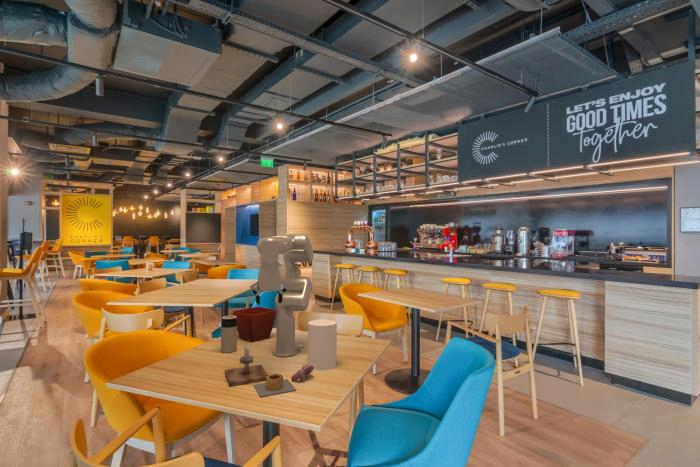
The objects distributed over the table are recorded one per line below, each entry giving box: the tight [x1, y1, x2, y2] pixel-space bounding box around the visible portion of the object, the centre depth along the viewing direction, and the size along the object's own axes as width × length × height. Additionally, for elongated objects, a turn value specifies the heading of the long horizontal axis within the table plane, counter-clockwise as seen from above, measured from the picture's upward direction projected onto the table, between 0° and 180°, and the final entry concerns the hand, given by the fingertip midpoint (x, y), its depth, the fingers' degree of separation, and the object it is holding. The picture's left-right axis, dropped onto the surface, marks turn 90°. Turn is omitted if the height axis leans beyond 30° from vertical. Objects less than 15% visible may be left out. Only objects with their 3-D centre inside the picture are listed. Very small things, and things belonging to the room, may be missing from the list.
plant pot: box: [232, 306, 277, 343], centre depth 213 cm, size 19×19×17 cm
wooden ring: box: [265, 373, 284, 391], centre depth 141 cm, size 6×6×4 cm
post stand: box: [224, 345, 269, 388], centre depth 153 cm, size 16×16×13 cm
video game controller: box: [290, 364, 315, 382], centre depth 151 cm, size 10×5×7 cm, turn 151°
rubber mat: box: [253, 378, 297, 398], centre depth 141 cm, size 14×12×1 cm
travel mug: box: [220, 315, 238, 354], centre depth 189 cm, size 8×8×18 cm
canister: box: [307, 318, 338, 371], centre depth 168 cm, size 14×14×20 cm
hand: (269, 303), depth 160 cm, fingers open, 9 cm apart
